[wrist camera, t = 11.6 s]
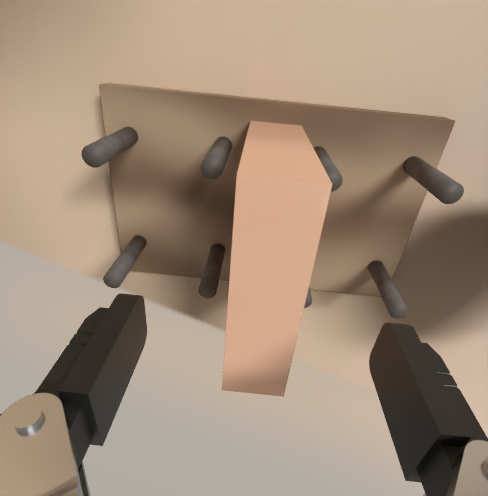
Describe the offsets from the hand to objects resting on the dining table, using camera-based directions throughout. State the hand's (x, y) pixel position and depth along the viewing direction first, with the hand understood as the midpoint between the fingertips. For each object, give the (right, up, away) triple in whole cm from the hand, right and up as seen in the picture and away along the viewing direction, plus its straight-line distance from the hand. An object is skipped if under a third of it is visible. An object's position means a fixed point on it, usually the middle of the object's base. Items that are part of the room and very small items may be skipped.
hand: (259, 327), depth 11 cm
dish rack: (+1, +6, +10) cm, 12 cm away
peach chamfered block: (+1, +5, +9) cm, 11 cm away
